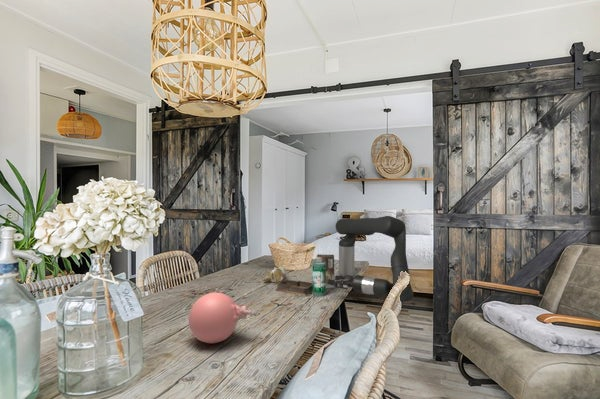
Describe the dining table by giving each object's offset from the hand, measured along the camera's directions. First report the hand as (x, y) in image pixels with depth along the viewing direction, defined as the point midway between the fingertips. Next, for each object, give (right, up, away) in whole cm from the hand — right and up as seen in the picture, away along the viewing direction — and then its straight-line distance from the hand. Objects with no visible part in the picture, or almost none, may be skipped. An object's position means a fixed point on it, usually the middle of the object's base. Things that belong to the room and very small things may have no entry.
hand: (331, 279), depth 152 cm
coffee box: (-2, -8, +17) cm, 19 cm away
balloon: (-40, -9, -47) cm, 63 cm away
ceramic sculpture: (-28, -8, +26) cm, 39 cm away
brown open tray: (-17, -8, +10) cm, 21 cm away
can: (-6, -8, +3) cm, 10 cm away
